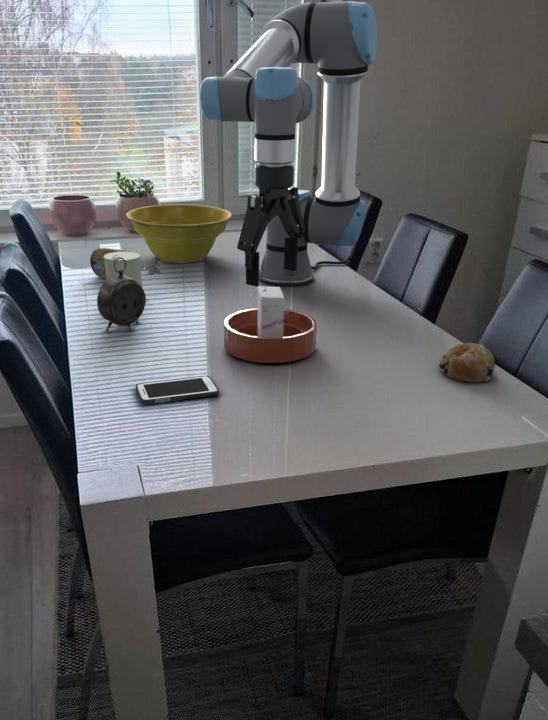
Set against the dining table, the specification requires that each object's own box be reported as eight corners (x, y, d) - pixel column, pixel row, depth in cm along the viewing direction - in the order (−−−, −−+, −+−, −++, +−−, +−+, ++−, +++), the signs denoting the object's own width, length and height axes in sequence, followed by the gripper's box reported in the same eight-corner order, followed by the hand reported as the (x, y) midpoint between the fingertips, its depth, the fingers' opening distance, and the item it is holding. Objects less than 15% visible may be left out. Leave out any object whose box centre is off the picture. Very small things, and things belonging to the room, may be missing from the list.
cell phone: (220, 395, 124) (220, 390, 123) (141, 405, 120) (141, 400, 119) (209, 379, 130) (209, 374, 129) (135, 388, 126) (134, 383, 126)
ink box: (283, 352, 140) (285, 297, 134) (260, 353, 140) (261, 297, 134) (278, 338, 148) (280, 285, 141) (256, 338, 147) (257, 285, 141)
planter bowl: (251, 254, 214) (251, 210, 207) (191, 277, 191) (190, 228, 184) (172, 241, 229) (170, 200, 221) (108, 261, 206) (103, 215, 198)
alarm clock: (137, 320, 159) (131, 251, 151) (151, 326, 156) (146, 255, 147) (99, 331, 153) (90, 259, 144) (112, 337, 150) (104, 264, 141)
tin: (91, 277, 191) (87, 247, 186) (97, 274, 193) (93, 244, 189) (136, 283, 186) (134, 252, 181) (142, 280, 188) (140, 249, 184)
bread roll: (470, 402, 130) (496, 372, 125) (428, 371, 132) (451, 340, 127) (484, 385, 138) (509, 355, 132) (444, 355, 139) (467, 325, 134)
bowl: (259, 327, 156) (259, 302, 153) (331, 346, 146) (333, 319, 143) (206, 352, 143) (205, 325, 139) (281, 374, 133) (282, 345, 129)
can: (100, 303, 171) (95, 255, 164) (122, 293, 177) (118, 247, 171) (130, 308, 167) (125, 260, 161) (151, 298, 174) (147, 251, 167)
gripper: (294, 154, 135) (290, 261, 147) (217, 170, 118) (219, 288, 130) (325, 158, 131) (319, 266, 143) (251, 174, 114) (250, 295, 126)
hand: (271, 277), depth 136 cm, fingers open, 13 cm apart
